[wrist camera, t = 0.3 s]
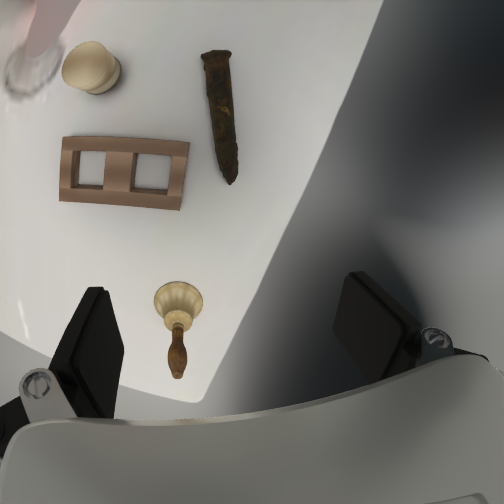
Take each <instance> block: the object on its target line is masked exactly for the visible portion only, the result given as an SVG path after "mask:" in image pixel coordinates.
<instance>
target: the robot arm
mask: <svg viewBox="0 0 504 504" xmlns="http://www.w3.org/2000/svg"><path fill="white" fill-rule="evenodd" d="M420 326H421V323H420V322H419V321H417V320H416V319H415V318H414V317H413V316H412V315H411V314H410V313H409V312H408V311H407V310H406V309H405V308H404V307H403V306H401V305H400V304H399V303H398V302H397V301H396V300H395V299H394V298H393V297H392V296H391V295H389V293H387V292H386V291H385V290H384V289H383V288H382V287H381V286H380V285H379V284H377V283H376V282H375V281H374V280H373V279H372V278H371V277H370V276H368V275H367V274H366V273H365V272H364V271H355V272H350V273H349V274H348V276H346V277H345V280H344V284H343V288H342V293H341V297H340V301H339V305H338V310H337V314H336V317H335V321H334V325H333V332H334V335H335V336H336V338H337V339H338V341H339V342H340V344H341V345H342V346H343V348H344V349H345V351H346V352H347V354H348V355H349V357H350V358H351V360H352V361H353V362H354V364H355V365H356V367H357V368H358V370H359V371H360V373H361V374H362V376H363V377H364V379H365V380H366V382H367V383H368V385H367V386H364V387H361V388H358V389H355V390H351V391H348V392H344V393H341V394H337V395H334V396H331V397H326V398H323V399H319V400H315V401H310V402H306V403H302V404H297V405H292V406H287V407H282V408H277V409H272V410H266V411H260V412H253V413H246V414H239V415H230V416H221V417H210V418H197V419H179V420H178V419H176V420H126V419H113V418H114V411H115V403H116V396H117V390H118V384H119V378H120V372H121V367H122V361H123V356H124V345H123V342H122V339H121V335H120V332H119V329H118V325H117V322H116V318H115V314H114V311H113V307H112V303H111V299H110V295H109V292H108V291H107V290H104V288H103V287H88V288H87V290H86V292H85V294H84V296H83V297H82V299H81V301H80V303H79V305H78V307H77V309H76V311H75V313H74V315H73V317H72V319H71V321H70V322H69V324H68V326H67V328H66V330H65V332H64V334H63V336H62V338H61V340H60V343H59V345H58V347H57V349H56V352H55V354H54V356H53V358H52V361H51V363H50V366H49V368H48V369H44V368H37V369H33V370H31V371H29V372H28V373H26V374H25V375H24V376H23V377H22V379H21V381H20V384H19V394H20V396H19V397H17V398H15V399H13V400H12V401H10V402H8V403H6V404H5V405H3V406H1V407H0V504H504V373H503V372H501V371H499V370H497V369H496V368H495V367H494V366H493V365H492V364H491V363H490V362H489V360H488V359H487V358H486V357H485V356H483V355H479V354H476V353H471V352H468V351H465V350H461V349H457V348H454V347H453V342H452V340H451V338H450V336H449V335H448V334H447V333H446V332H444V331H442V330H440V329H438V328H432V327H430V328H426V329H424V330H423V331H422V333H420V332H419V329H420Z"/></svg>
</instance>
